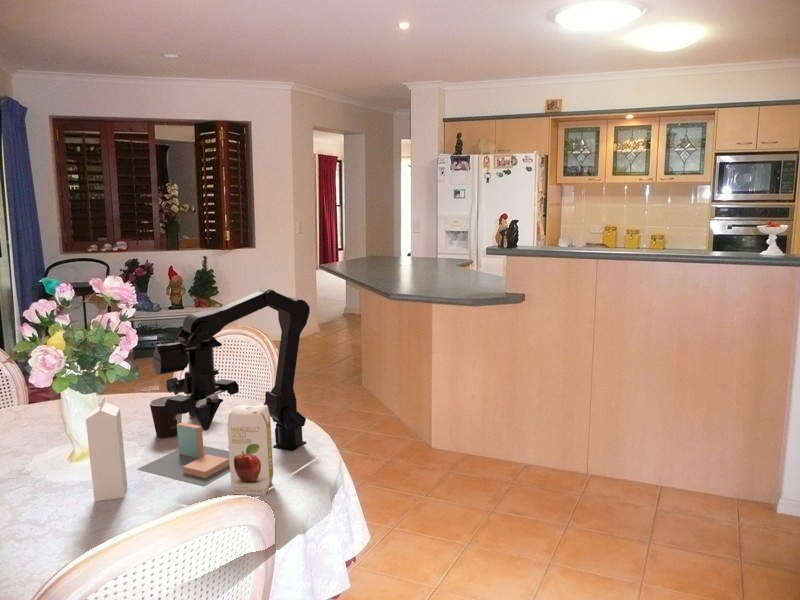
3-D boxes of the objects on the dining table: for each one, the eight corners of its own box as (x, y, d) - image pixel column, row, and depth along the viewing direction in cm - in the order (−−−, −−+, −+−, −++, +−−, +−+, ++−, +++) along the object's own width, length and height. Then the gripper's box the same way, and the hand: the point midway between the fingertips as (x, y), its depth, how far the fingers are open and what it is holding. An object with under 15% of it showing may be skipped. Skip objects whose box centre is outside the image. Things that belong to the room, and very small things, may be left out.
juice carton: (239, 482, 143) (234, 403, 140) (276, 482, 143) (271, 403, 140) (229, 498, 136) (223, 415, 133) (268, 497, 135) (263, 414, 132)
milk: (94, 502, 135) (83, 405, 132) (99, 490, 141) (88, 397, 137) (124, 497, 137) (114, 402, 133) (128, 486, 143) (118, 394, 139)
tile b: (203, 456, 158) (201, 426, 156) (198, 458, 156) (196, 428, 155) (183, 451, 161) (181, 422, 160) (178, 454, 159) (176, 424, 158)
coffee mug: (163, 443, 168) (160, 408, 166) (146, 436, 173) (143, 402, 171) (200, 430, 177) (198, 396, 175) (182, 424, 182) (180, 391, 181)
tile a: (228, 459, 151) (204, 471, 144) (229, 465, 152) (205, 478, 145) (207, 454, 154) (182, 466, 147) (207, 460, 155) (183, 473, 148)
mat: (256, 458, 157) (256, 456, 157) (203, 487, 141) (203, 486, 141) (191, 444, 167) (191, 443, 166) (136, 470, 151) (136, 469, 151)
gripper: (204, 354, 158) (208, 413, 161) (145, 373, 142) (150, 438, 144) (238, 359, 153) (242, 419, 156) (180, 378, 137) (185, 445, 139)
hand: (205, 430), depth 149 cm, fingers closed
